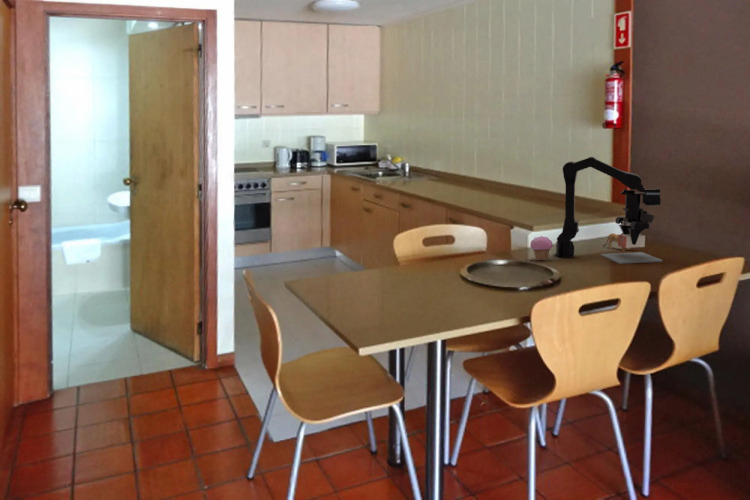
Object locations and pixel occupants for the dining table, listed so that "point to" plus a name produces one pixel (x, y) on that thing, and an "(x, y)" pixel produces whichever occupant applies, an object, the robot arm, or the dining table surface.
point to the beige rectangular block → (630, 241)
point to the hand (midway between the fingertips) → (631, 243)
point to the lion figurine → (613, 238)
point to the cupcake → (541, 247)
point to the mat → (631, 258)
